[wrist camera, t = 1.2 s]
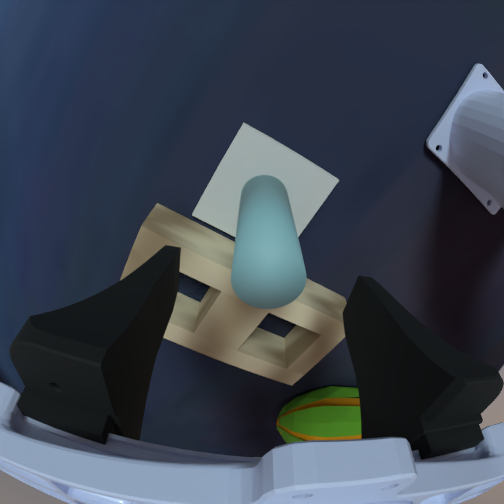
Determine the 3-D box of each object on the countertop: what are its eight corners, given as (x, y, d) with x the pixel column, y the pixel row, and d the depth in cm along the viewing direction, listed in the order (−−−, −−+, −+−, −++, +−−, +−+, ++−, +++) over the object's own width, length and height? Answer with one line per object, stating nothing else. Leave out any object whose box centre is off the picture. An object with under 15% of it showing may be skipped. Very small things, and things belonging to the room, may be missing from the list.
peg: (296, 189, 20) (321, 269, 12) (271, 225, 22) (279, 318, 14) (255, 166, 19) (255, 234, 12) (232, 204, 21) (218, 290, 13)
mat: (338, 179, 20) (339, 180, 20) (280, 258, 23) (280, 260, 23) (243, 122, 18) (243, 123, 18) (192, 213, 21) (191, 215, 21)
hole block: (344, 297, 25) (354, 327, 22) (289, 355, 29) (291, 385, 26) (157, 203, 21) (141, 226, 18) (123, 283, 25) (109, 312, 22)
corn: (287, 442, 24) (461, 426, 25) (285, 372, 30) (443, 374, 31) (270, 465, 28) (426, 453, 29) (270, 406, 34) (414, 404, 36)
